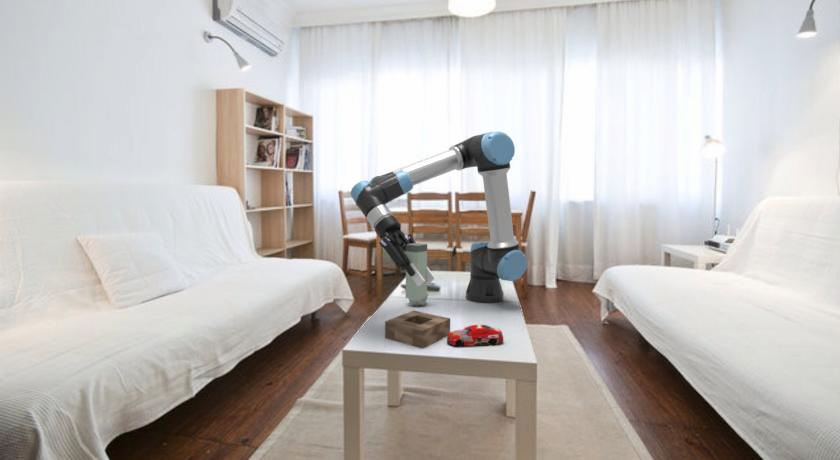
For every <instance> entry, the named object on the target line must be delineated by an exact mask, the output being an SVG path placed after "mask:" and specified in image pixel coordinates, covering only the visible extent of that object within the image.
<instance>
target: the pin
mask: <svg viewBox="0 0 840 460" xmlns="http://www.w3.org/2000/svg"><path fill="white" fill-rule="evenodd" d="M405 254H406V256H407V258H408V260H409V262H410V264H411V263H413V264H414V266H415V267H416V269H417V270H418V271H419V273H420V274H421V276H422V277H423V278H424V280H425V281H424V282H423V283H422V284H421V285H420V286H419V287H418V286H417V284H416V283H415V281H414V280H413V279H412V277H411V276H410V275H409V274H408V272H407V271H406V270H405V298H406V299H408V300H409V299H414V300H420V299H423V298H426V297H427V291H428V282H427V266H428V243H421V242H416V243H412V244H406V252H405ZM427 298H428V297H427Z"/></svg>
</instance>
